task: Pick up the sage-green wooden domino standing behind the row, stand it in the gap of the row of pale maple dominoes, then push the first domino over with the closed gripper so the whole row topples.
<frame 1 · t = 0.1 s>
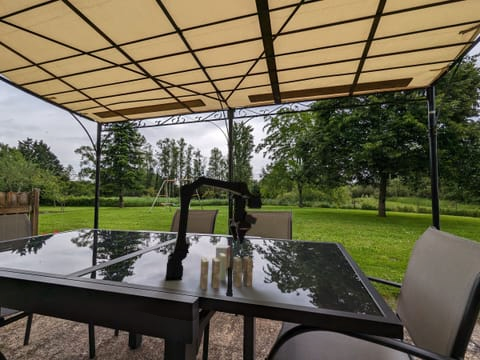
hand: (238, 242, 106), 14 cm above the table, tool pointing down, fingers open, 9 cm apart
domino 1: (203, 286, 89), on the table
domino 4: (236, 284, 93), on the table
small box: (222, 268, 115), on the table
domino 5: (247, 283, 94), on the table
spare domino: (221, 278, 99), on the table
domino 2: (214, 285, 90), on the table
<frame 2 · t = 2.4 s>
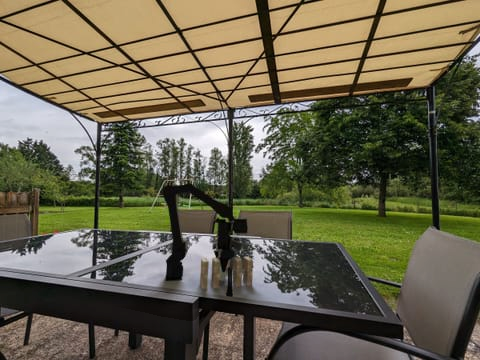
hand: (222, 269, 99), 4 cm above the table, tool pointing down, fingers closed on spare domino, 6 cm apart
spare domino: (221, 278, 99), on the table, touching gripper
everything else where it was.
when the fingers open (5 cm above the table, at t = 7.3 s): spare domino stays where it is, on the table.
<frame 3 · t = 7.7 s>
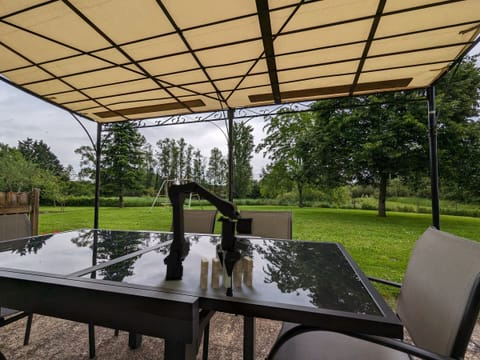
hand: (226, 273, 92), 5 cm above the table, tool pointing down, fingers open, 9 cm apart
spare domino: (226, 284, 91), on the table
everything else where it was.
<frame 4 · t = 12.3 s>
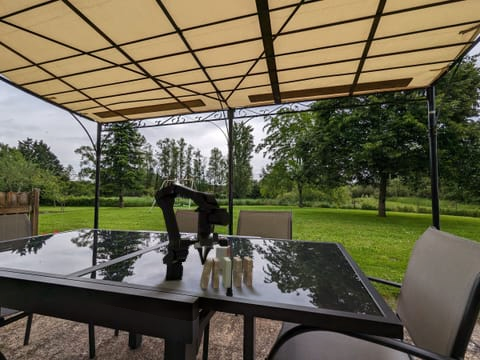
hand: (202, 264, 89), 8 cm above the table, tool pointing down, fingers closed
domino 1: (203, 285, 89), on the table, tilted 10°
everything else where it was.
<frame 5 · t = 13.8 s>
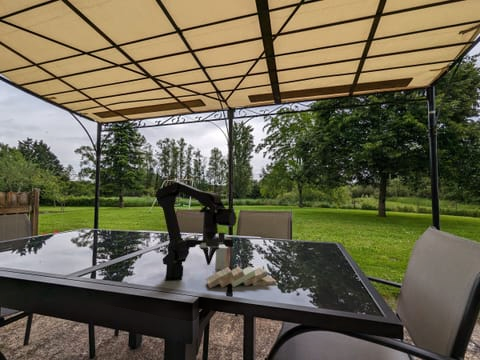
hand: (208, 264, 90), 8 cm above the table, tool pointing down, fingers closed
domino 1: (207, 283, 89), point 1 cm above the table, tilted 65°, touching domino 2
domino 4: (242, 281, 93), point 1 cm above the table, tilted 69°, touching domino 5, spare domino
domino 5: (250, 282, 94), on the table, tilted 90°, touching domino 4
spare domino: (230, 282, 92), point 1 cm above the table, tilted 65°, touching domino 2, domino 4
domino 2: (219, 282, 91), point 1 cm above the table, tilted 65°, touching domino 1, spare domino
everything else where it was.
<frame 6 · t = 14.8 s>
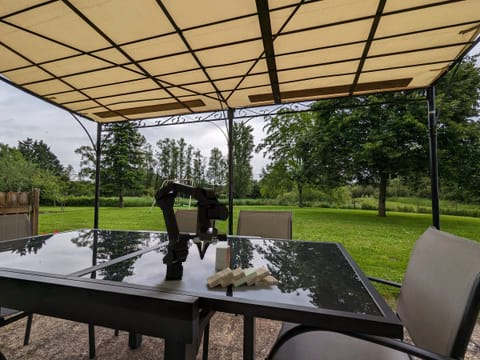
hand: (201, 259, 89), 10 cm above the table, tool pointing down, fingers closed
domino 4: (245, 281, 93), point 1 cm above the table, tilted 67°, touching domino 5
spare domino: (232, 282, 92), point 1 cm above the table, tilted 67°, touching domino 2
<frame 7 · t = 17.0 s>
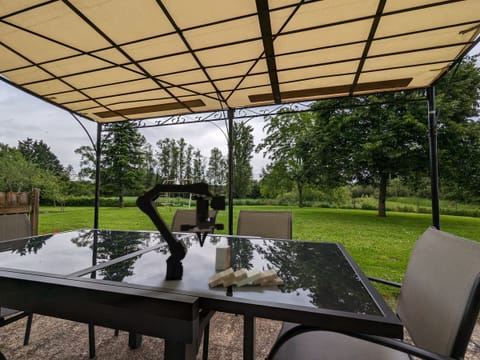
hand: (201, 247, 99), 13 cm above the table, tool pointing down, fingers closed
domino 1: (209, 282, 90), point 1 cm above the table, tilted 67°, touching domino 2
domino 4: (252, 279, 93), point 2 cm above the table, tilted 74°, touching domino 5, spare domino
domino 5: (257, 282, 95), on the table, tilted 90°, touching domino 4
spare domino: (236, 282, 92), point 1 cm above the table, tilted 67°, touching domino 2, domino 4
at the end: domino 5 tilted 90°; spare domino tilted 67° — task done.
